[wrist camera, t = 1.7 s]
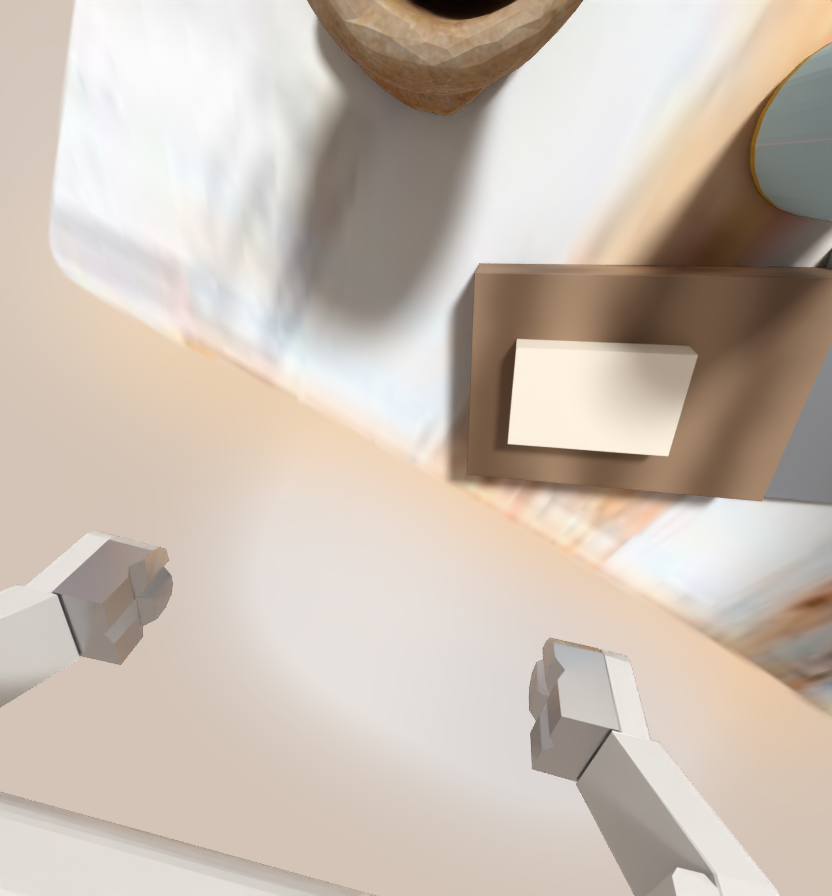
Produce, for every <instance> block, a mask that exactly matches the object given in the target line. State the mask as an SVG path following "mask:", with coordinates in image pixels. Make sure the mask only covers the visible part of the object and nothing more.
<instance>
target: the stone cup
mask: <svg viewBox="0 0 832 896" xmlns="http://www.w3.org/2000/svg"><path fill="white" fill-rule="evenodd" d="M307 1H308V3H309V5H310V6H311V8H312V9H313V11H314V12H315V14H316V15H317V17H318V18H319V20H320V21H321V23H322V24H323V25H324V27H325V28H326V30H327V31H328V33H329V34H330V35H331V36H332V38H333V39H334V40H335V41H336V42H337V44H338V45H339V46H340V47H341V49H342V50H343V51H345V52H346V53H347V54H348V55H349V56H350V57H351V58H352V59H353V60H354V61H355V62H357V63H358V64H359V65H360V66H361V67H362V69H363V70H364V71H365V72H366V73H367V74H368V75H369V76H370V77H371V78H372V79H373V80H374V81H375V82H376V83H378V84H379V85H380V86H381V87H382V88H383V89H385V90H386V91H387V92H388V93H390V94H391V95H393V96H394V97H396V98H397V99H399V100H400V101H401V102H403V103H404V104H406V105H408V106H410V107H412V108H413V109H417V110H425V111H431V112H433V113H435V114H440V115H450V114H453V113H456V112H458V111H459V110H460V109H462V108H463V107H464V106H466V105H467V104H468V103H470V102H471V101H472V100H474V99H475V98H476V97H477V96H478V95H479V94H480V93H481V92H482V91H483V90H484V89H485V88H486V87H487V86H488V85H490V84H493V83H495V82H496V81H498V80H500V79H501V78H503V77H505V76H506V75H508V74H510V73H511V72H513V71H515V70H516V69H518V68H519V67H521V66H522V65H523V64H525V63H526V62H527V61H528V60H530V59H531V58H532V57H533V56H534V55H535V54H536V53H537V52H538V51H539V50H540V49H541V48H542V47H543V46H544V45H545V44H546V43H547V42H548V41H549V40H550V39H551V38H552V37H553V36H554V35H555V34H556V33H557V32H558V30H559V29H560V28H561V27H562V26H563V25H564V23H565V22H566V21H567V20H568V19H569V18H570V16H571V15H572V14H573V13H574V12H575V11H576V9H577V8H578V7H579V5H580V4H581V2H582V1H583V0H307Z"/></svg>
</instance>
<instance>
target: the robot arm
mask: <svg viewBox="0 0 832 896" xmlns="http://www.w3.org/2000/svg"><path fill="white" fill-rule="evenodd" d="M168 561H169V559H168V555H167V551H166V549H164V548H161V547H158V546H154V545H150V544H146V543H142V542H139V541H135V540H131V539H127V538H124V537H120V536H115V535H111V534H107V533H103V532H99V531H93V532H91V533H88V534H86V535H84V537H82V538H81V539H80V540H79V541H77V542H76V543H75V544H74V545H73V546H72V547H70V548H69V549H68V550H67V551H66V552H65V553H63V554H62V555H61V556H60V557H59V558H58V559H56V560H55V561H54V562H53V563H52V564H51V565H49V566H48V567H47V568H46V569H45V570H43V571H42V572H41V573H40V574H39V575H38V576H36V577H35V578H34V579H33V580H32V581H31V582H29V583H28V584H27V585H26V586H21V585H16V586H13V587H11V588H8V589H6V590H3V591H0V707H2V706H3V705H5V704H7V703H8V702H10V701H12V700H13V699H15V698H16V697H18V696H20V695H21V694H23V693H24V692H26V691H28V690H30V689H31V688H33V687H34V686H36V685H37V684H39V683H41V682H43V681H44V680H46V679H47V678H49V677H51V676H52V675H54V674H56V673H57V672H59V671H60V670H62V669H64V668H65V667H67V666H69V665H70V664H72V663H74V662H75V661H77V660H79V659H80V656H83V657H87V658H92V659H96V660H101V661H106V662H110V663H114V664H119V665H121V664H122V663H123V661H124V660H125V659H126V658H127V656H128V655H129V654H130V652H131V651H132V650H133V649H134V647H135V646H136V645H137V644H138V642H139V641H140V640H141V639H142V637H143V626H144V625H146V624H148V623H150V622H152V621H154V620H156V619H157V618H158V617H159V615H160V614H161V613H162V611H163V610H164V609H165V607H166V605H167V603H168V601H169V598H170V596H171V593H172V585H173V583H172V576H171V574H170V573H169V572H168V571H167V570H166V569H165V568H164V566H165V564H166V563H167V562H168ZM529 711H530V712H531V714H532V715H533V717H534V718H535V720H536V723H535V725H534V727H533V729H532V731H531V733H530V737H531V755H532V769H534V770H537V771H541V772H544V773H548V774H551V775H555V776H558V777H562V778H565V779H569V780H573V781H576V782H577V783H576V785H577V787H578V789H579V791H580V792H581V794H582V796H583V798H584V800H585V802H586V804H587V806H588V807H589V810H590V811H591V814H592V815H593V817H594V819H595V821H596V823H597V825H598V827H599V829H600V831H601V832H602V835H603V836H604V838H605V840H606V842H607V844H608V846H609V848H610V850H611V852H612V853H613V856H614V857H615V859H616V861H617V863H618V865H619V867H620V869H621V871H622V873H623V875H624V876H625V878H626V880H627V882H628V884H629V886H630V888H631V890H632V892H633V894H634V895H635V896H779V893H778V891H777V890H776V888H775V887H774V886H773V885H772V883H771V882H770V881H769V880H768V878H767V877H766V876H765V875H764V873H763V872H762V871H761V870H760V868H759V867H758V866H757V865H756V863H755V862H754V861H753V860H752V858H751V857H750V856H749V854H748V853H747V852H746V851H745V849H744V848H743V847H742V846H741V844H740V843H739V842H738V841H737V839H736V838H735V837H734V836H733V834H732V833H731V832H730V831H729V829H728V828H727V827H726V826H725V824H724V823H723V822H722V820H721V819H720V818H719V817H718V815H717V814H716V813H715V812H714V810H713V809H712V808H711V807H710V805H709V804H708V803H707V802H706V800H705V799H704V798H703V797H702V795H701V794H700V793H699V792H698V790H697V789H696V788H695V787H694V785H693V784H692V783H691V782H690V780H689V779H688V778H687V777H686V775H685V774H684V773H683V771H682V770H681V769H680V768H679V766H678V765H677V764H676V763H675V761H674V760H673V759H672V758H671V756H670V755H669V754H668V753H667V751H666V750H665V749H664V748H663V746H662V745H661V744H660V743H659V742H657V741H653V740H651V738H650V734H649V730H648V727H647V723H646V719H645V715H644V712H643V708H642V704H641V700H640V696H639V693H638V689H637V685H636V682H635V677H634V674H633V670H632V666H631V662H630V660H629V659H628V657H627V656H626V655H622V654H618V653H614V652H609V651H605V650H600V649H598V648H594V647H590V646H585V645H581V644H576V643H572V642H567V641H562V640H558V639H554V638H549V639H548V640H547V641H546V643H545V645H544V647H543V660H540V661H538V662H536V665H535V668H534V670H533V672H532V677H531V681H530V687H529ZM0 896H376V895H372V894H369V893H365V892H361V891H358V890H354V889H351V888H347V887H343V886H340V885H336V884H332V883H329V882H325V881H322V880H318V879H314V878H311V877H307V876H303V875H300V874H296V873H293V872H289V871H286V870H282V869H278V868H275V867H271V866H268V865H264V864H260V863H257V862H253V861H249V860H245V859H242V858H239V857H235V856H231V855H228V854H224V853H221V852H217V851H213V850H210V849H206V848H202V847H199V846H195V845H191V844H188V843H184V842H181V841H177V840H174V839H169V838H166V837H162V836H159V835H155V834H152V833H148V832H145V831H141V830H137V829H133V828H130V827H126V826H122V825H119V824H116V823H112V822H108V821H105V820H101V819H98V818H94V817H90V816H87V815H83V814H79V813H76V812H72V811H69V810H65V809H61V808H57V807H54V806H50V805H47V804H43V803H40V802H36V801H32V800H29V799H25V798H22V797H18V796H14V795H11V794H7V793H4V792H0Z"/></svg>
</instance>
